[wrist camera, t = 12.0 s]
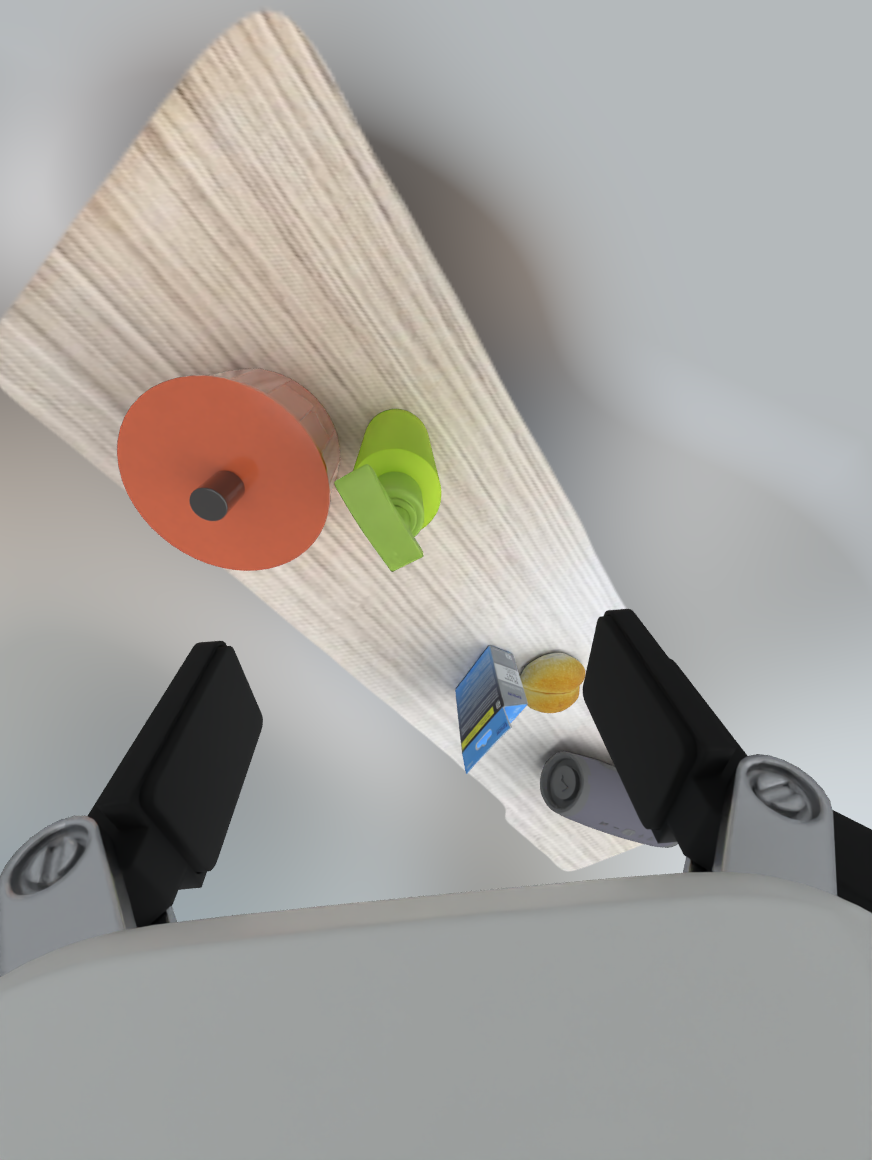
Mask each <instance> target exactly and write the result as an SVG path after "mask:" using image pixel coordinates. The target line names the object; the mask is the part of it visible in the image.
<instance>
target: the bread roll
mask: <svg viewBox="0 0 872 1160" xmlns="http://www.w3.org/2000/svg"><path fill="white" fill-rule="evenodd" d="M584 678H585V669H584V667H583V665H582V664H581V663H580V662H579V661H578V660H576V659H575V658H573V657H571V656H569V655H567V654H564V653H552V654H547V655H543V656H541V657H539V658H538V659H536V660H534V661H532V662H531V663H529V664H528V665H527V666H526V667H525V668H524V670H523V672H522V674H521V676H520V679H521V682H522V685H523V689H524V692H525V695H526V698H527V702H528V706H529V707H530V708H532V709H534V710H536V711H539V712H543V713H556V712H561V711H563V710H565V709H567V708H568V707H570V706H571V705H572V704H573V703H574V702H575V701H576V700H577V698H578V696H579V685H580V684H581V683H582V682H583V680H584Z"/></svg>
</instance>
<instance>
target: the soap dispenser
mask: <svg viewBox="0 0 872 1160" xmlns="http://www.w3.org/2000/svg"><path fill="white" fill-rule="evenodd" d="M334 484H335V487H336V488H337V490H338V492H339V494H340V496H341V497H342V499H343V501H344V502H345V504H346V506H347V507H348V509H349V511H350V512H351V514H352V516H353V517H354V519H355V520H356V522H357V524H358V525H359V527H360V528H361V530H362V531H363V533H364V534H365V536H366V537H367V538H368V540H369V541H370V543H371V544H372V546H373V547H374V548H375V550H376V551H377V553H378V554H379V555H380V557H381V558H382V559H383V561H384V562H385V563H386V565H387V566H388V568H389V569H390V570H391V572H393V571H395V570H397V569H399V568H401V567H403V566H405V565H407V564H409V563H411V562H413V561H416V560H418V559H420V558H422V557H423V551H422V549H421V547H420V546H419V544H418V543H417V541H416V540H415V538H414V537H415V536H416V535H417V534H418V533H419V532H420V530H421V529H423V528H424V527H425V526H427V525H428V524H429V523H430V522H431V521H432V519H433V518H434V516H435V515H436V513H437V511H438V509H439V506H440V502H441V485H440V481H439V477H438V473H437V469H436V465H435V461H434V457H433V452H432V448H431V444H430V440H429V436H428V433H427V430H426V428H425V426H424V424H423V423H422V422H421V421H420V419H419V418H417V417H416V416H415V415H413V414H412V413H410V412H408V411H405V410H400V409H391V410H386V411H384V412H381V413H380V414H378V415H377V416H375V417H374V418H373V419H372V420H371V422H370V423H369V425H368V426H367V429H366V431H365V435H364V438H363V441H362V444H361V447H360V450H359V454H358V457H357V460H356V463H355V466H354V470H353V471H352V472H350V473H349V474H347V475H345V476H343V477H342V478H340V479H338V480H336V481H335V482H334Z"/></svg>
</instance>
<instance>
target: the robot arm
mask: <svg viewBox="0 0 872 1160" xmlns="http://www.w3.org/2000/svg"><path fill="white" fill-rule="evenodd" d="M583 697H584V700H585V703H586V705H587V707H588V709H589V711H590V714H591V716H592V718H593V720H594V722H595V724H596V727H597V729H598V731H599V733H600V735H601V737H602V740H603V742H604V744H605V746H606V748H607V750H608V753H609V755H610V757H611V759H612V761H613V763H614V765H615V768H616V770H617V772H618V774H619V776H620V778H621V781H622V783H623V785H624V787H625V789H626V791H627V794H628V796H629V798H630V800H631V802H632V804H633V807H634V809H635V811H636V813H637V815H638V817H639V819H640V821H641V823H642V825H643V826H644V828H646V829H651V830H652V832H653V835H654V837H655V839H656V841H657V843H658V844H660V843H671V842H678V844H679V846H680V848H681V850H682V852H683V854H684V855H685V856H686V861H685V865H684V870H683V873H675V874H662V875H648V876H635V877H621V878H608V879H598V880H587V881H576V882H566V883H555V884H545V885H533V886H523V887H512V888H501V889H490V890H480V891H470V892H460V893H449V894H439V895H430V896H419V897H409V898H399V899H389V900H380V901H368V902H358V903H349V904H338V905H329V906H319V907H309V908H300V909H290V910H281V911H271V912H261V913H251V914H241V915H232V916H224V917H216V918H207V919H200V920H192V921H183V922H177V920H176V917H175V914H174V911H173V908H172V904H173V902H174V899H175V897H176V894H177V892H178V890H181V889H190V888H200V887H202V884H203V881H204V879H205V876H206V873H207V871H211V870H212V869H213V868H214V866H215V864H216V862H217V859H218V857H219V854H220V851H221V848H222V845H223V842H224V839H225V836H226V833H227V830H228V827H229V824H230V821H231V818H232V815H233V812H234V809H235V806H236V803H237V801H238V798H239V794H240V792H241V789H242V786H243V783H244V780H245V777H246V774H247V771H248V768H249V765H250V762H251V759H252V756H253V753H254V750H255V747H256V744H257V741H258V738H259V735H260V733H261V729H262V723H263V718H262V714H261V711H260V709H259V707H258V705H257V702H256V700H255V698H254V695H253V693H252V690H251V688H250V686H249V683H248V681H247V679H246V677H245V674H244V672H243V670H242V667H241V665H240V663H239V660H238V658H237V656H236V653H235V651H234V649H233V647H231V646H227V645H226V643H225V642H223V641H214V642H201V643H197V644H196V645H195V646H194V647H193V648H192V650H191V652H190V653H189V655H188V656H187V658H186V660H185V661H184V663H183V665H182V666H181V667H180V669H179V671H178V672H177V674H176V676H175V677H174V679H173V680H172V682H171V684H170V685H169V687H168V688H167V690H166V692H165V693H164V695H163V696H162V698H161V700H160V701H159V703H158V704H157V706H156V707H155V709H154V711H153V712H152V713H151V715H150V717H149V719H148V720H147V722H146V723H145V725H144V726H143V728H142V730H141V731H140V733H139V734H138V736H137V738H136V739H135V741H134V742H133V744H132V746H131V747H130V749H129V750H128V752H127V754H126V755H125V757H124V758H123V760H122V762H121V763H120V765H119V766H118V768H117V770H116V771H115V773H114V774H113V776H112V778H111V779H110V781H109V783H108V784H107V786H106V787H105V789H104V790H103V792H102V794H101V795H100V797H99V799H98V800H97V802H96V803H95V805H94V806H93V808H92V810H91V811H90V813H89V814H88V816H72V817H68V818H65V819H61V820H59V821H57V822H55V823H53V824H51V825H49V826H47V827H45V828H44V829H42V830H41V831H39V832H38V833H37V834H35V835H34V836H32V837H31V838H30V839H29V840H28V841H27V842H26V843H24V844H23V845H22V846H21V847H20V848H19V849H18V850H17V851H16V852H15V854H14V855H13V856H12V858H11V859H10V860H9V861H8V863H7V864H6V865H5V867H4V869H3V871H2V873H1V875H0V1160H872V830H871V829H869V828H867V827H865V826H863V825H861V824H859V823H857V822H855V821H853V820H851V819H849V818H847V817H845V816H843V815H841V814H840V813H838V812H835V811H834V810H832V807H831V803H830V800H829V798H828V797H827V795H826V794H825V792H824V790H823V789H822V788H821V787H820V786H819V785H818V784H817V782H816V781H815V780H814V779H813V778H812V777H810V776H809V775H807V774H806V773H805V772H803V771H802V770H801V769H800V768H798V767H796V766H794V765H792V764H790V763H789V762H787V761H785V760H782V759H779V758H776V757H773V756H768V755H760V754H756V755H751V756H747V755H746V753H745V752H744V751H743V749H742V748H741V747H740V746H739V744H738V743H737V742H736V740H735V739H734V738H733V736H732V735H731V734H730V733H729V731H728V730H727V729H726V727H725V726H724V725H723V724H722V722H721V721H720V720H719V718H718V717H717V716H716V714H715V713H714V712H713V711H712V709H711V708H710V707H709V705H708V704H707V703H706V702H705V700H704V699H703V698H702V696H701V695H700V694H699V692H698V691H697V690H696V689H695V687H694V686H693V685H692V683H691V682H690V681H689V679H688V678H687V677H686V675H685V674H684V673H683V672H682V670H681V669H680V668H679V666H678V665H677V664H676V663H675V662H674V661H673V660H672V659H670V658H669V657H668V656H667V655H666V654H665V652H664V651H663V650H662V649H661V647H660V646H659V644H658V643H657V642H656V640H655V639H654V638H653V636H652V635H651V634H650V633H649V631H648V630H647V629H646V627H645V626H644V625H643V623H642V622H641V621H640V619H639V618H638V617H637V615H636V614H635V613H634V612H633V611H632V610H631V609H621V610H608V611H606V612H605V614H604V616H603V617H599V618H598V621H597V625H596V630H595V634H594V639H593V643H592V648H591V652H590V657H589V662H588V666H587V671H586V675H585V680H584V684H583Z"/></svg>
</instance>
